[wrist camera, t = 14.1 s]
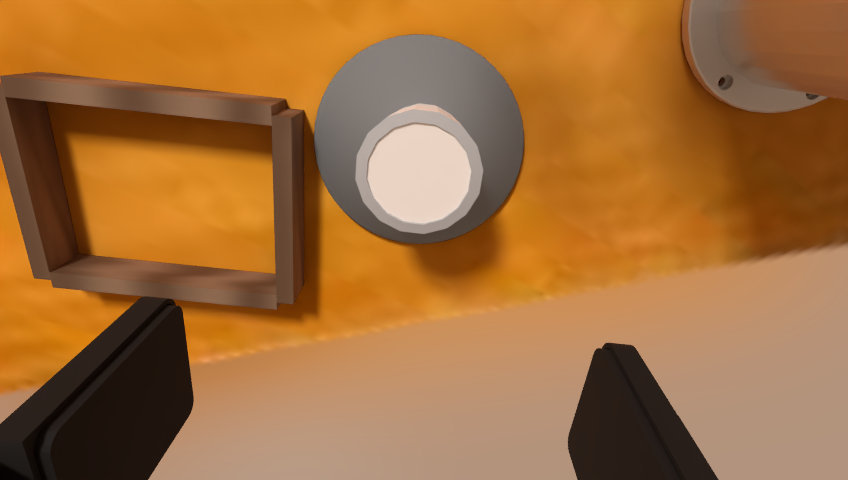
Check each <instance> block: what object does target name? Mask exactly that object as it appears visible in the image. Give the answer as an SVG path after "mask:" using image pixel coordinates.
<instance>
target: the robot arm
mask: <svg viewBox="0 0 848 480" xmlns="http://www.w3.org/2000/svg"><path fill="white" fill-rule="evenodd" d="M682 41H683V45H684V50H685V55H686V59H687V61H688V63H689V65H690V68H691V70H692V72H693V74H694V76H695V77H696V78H697V80H698V81H699V82H700V84H701V85H702V86H703V88H704V89H705V90H707V91H708V92H709V93H710V94H711V95H713V96H714V97H715V98H716V99H718V100H720V101H722V102H724V103H726V104H728V105H730V106H733V107H736V108H740V109H743V110H747V111H752V112H761V113H779V112H789V111H793V110H797V109H801V108H805V107H808V106H811V105H813V104H815V103H818V102H820V101H822V100H825V99H827V98H829V97H832V98H838V99H844V100H848V0H685V1H684V7H683V13H682ZM720 78H721V82H720V84H718V82H719V80H720ZM193 401H194V400H193V390H192V382H191V374H190V366H189V358H188V350H187V342H186V334H185V327H184V319H183V312H182V309H181V307H180V306H176V305H175V302H174V301H173V300H172V299H169V298H160V297H150V296H144V297H142V298H140V299H139V300H138V301H137V302H135V303H134V304H133V305H132V306H131V307H130V308H129V309H128V310H127V311H125V312H124V313H123V314H122V315H121V316H120V317H119V318H118V319H117V320H115V321H114V322H113V323H112V324H111V325H110V326H109V327H108V328H107V329H105V330H104V331H103V332H102V333H101V334H100V335H99V336H98V337H97V338H95V339H94V340H93V341H92V342H91V343H90V344H89V345H88V346H87V347H85V348H84V349H83V350H82V351H81V352H80V353H79V354H78V355H77V356H75V357H74V358H73V359H72V360H71V361H70V362H69V363H68V364H67V365H65V366H64V367H63V368H62V369H61V370H60V371H59V372H58V373H57V374H55V375H54V376H53V377H52V378H51V379H50V380H49V381H48V382H46V383H45V384H44V385H43V386H42V387H41V388H40V389H39V390H38V391H36V392H35V393H34V394H33V395H32V396H31V397H30V398H29V399H28V400H26V402H24V403H23V404H22V405H21V406H20V407H19V408H18V409H17V410H15V411H14V412H13V413H12V414H11V415H10V416H9V417H8V418H6V419H5V420H4V421H3V422H2V423H1V424H0V480H148V479H149V477H150V476H151V474H152V473H153V471H154V469H155V468H156V466H157V465H158V463H159V462H160V460H161V459H162V457H163V456H164V454H165V452H166V451H167V449H168V448H169V446H170V445H171V443H172V442H173V440H174V438H175V437H176V435H177V434H178V432H179V431H180V429H181V428H182V426H183V425H184V423H185V421H186V420H187V418H188V417H189V415H190V413H191V410H192V407H193ZM568 449H569V453H570V457H571V460H572V463H573V466H574V469H575V473H576V476H577V479H578V480H718V478H717V477H716V475H715V474H714V472H713V470H712V469H711V467H710V466H709V464H708V463H707V461H706V459H705V458H704V456H703V454H702V453H701V451H700V449H699V448H698V446H697V445H696V443H695V441H694V440H693V438H692V437H691V435H690V434H689V432H688V430H687V429H686V427H685V426H684V424H683V422H682V421H681V419H680V418H679V416H678V415H677V414H676V412H675V410H674V409H673V407H672V406H671V404H670V402H669V401H668V399H667V398H666V396H665V394H664V393H663V391H662V390H661V388H660V387H659V385H658V383H657V382H656V380H655V379H654V377H653V375H652V374H651V372H650V371H649V369H648V367H647V366H646V364H645V363H644V361H643V359H642V358H641V356H640V355H639V353H638V351H637V350H636V348H635V347H634V346H632V345H625V344H615V343H606V344H604V346H603V347H602V349H600V348H598V349H596V350H595V352H594V355H593V358H592V361H591V365H590V368H589V371H588V374H587V378H586V381H585V384H584V387H583V390H582V394H581V397H580V400H579V403H578V407H577V410H576V413H575V417H574V420H573V423H572V427H571V429H570V433H569V437H568Z"/></svg>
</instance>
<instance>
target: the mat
mask: <svg viewBox="0 0 848 480" xmlns="http://www.w3.org/2000/svg"><path fill="white" fill-rule="evenodd" d="M419 103H420V104H428V105H436V106H438V107H440V108H441V109H443V110H445V111H446V112H448V113H450V114H451V115H452V116H453V117H454V118H455V119H456V120H457V121H458V122H459V123H460V124H461V125H462V126H463V127H464V129H465V130H466V131H467V133H468V134H469V135H470V137H471V138H472V139H473V141H474V142H475V143H476V145H477V146H478V150H479V154H480V158H481V163H482V167H483V175H482V181H481V187H480V193H479V196H478V197H477V199H476V200H475V202H474V203H473V205H472V206H471V208H470V210H469V211H468V213H467V214H466V215H465V216H464V217H462V218H461V219H459V220H458V221H457V222H455V223H454V224H452V225H451V226H450V227H448V228H446V229H442V230H438V231H434V232H430V233H426V234H419V233H411V232H402V231H399V230H397V229H395V228H393V227H391V226H389V225H387V224H385V223H383V222H382V221H380V220H379V219H378V218H377V217H376V216H375V215H374V214H373V213H372V212H371V210H370V209H369V208H368V207H367V206H366V205H365V204H364V202H363V200H362V197H361V194H360V191H359V189H358V186H357V183H356V180H355V176H356V159H357V154H358V152H359V150H360V148H361V146H362V144H363V142H364V140H365V138H366V136H367V134H368V132H370V131H371V130H372V129H373V128H374V127H376V126H377V125H378V124H379V123H380V122H382V121H383V120H384V119H385V118H386V117H388V116H389V115H391V114H393V113H395V112H397V111H398V110H400V109H402V108H405V107H408V106H412V105H415V104H419ZM314 145H315V154H316V160H317V165H318V168H319V171H320V174H321V177H322V179H323V181H324V183H325V185H326V187H327V189H328V191H329V193H330V194H331V196H332V197H333V199H334V200H335V202H336V203H337V204H338V205H339V206H340V208H341V209H342V210H343V211H344V212H345V213H346V214H347V215H348V216H349V217H350V218H351V219H353V220H354V221H355V222H357V223H358V224H359V225H361V226H362V227H364V228H366V229H367V230H369V231H371V232H373V233H375V234H377V235H379V236H382V237H384V238H387V239H391V240H394V241H399V242H405V243H415V244H426V243H436V242H441V241H446V240H449V239H452V238H455V237H458V236H461V235H463V234H465V233H467V232H469V231H471V230H473V229H474V228H476V227H477V226H479V225H481V224H482V223H483V222H484V221H485V220H487V219H488V218H489V217H490V216H491V215H492V214H493V213H494V212H495V211H496V210H497V209H498V208H499V207H500V206H501V204H502V203H503V202H504V200H505V199H506V198H507V196H508V194H509V193H510V191H511V189H512V187H513V185H514V183H515V181H516V178H517V176H518V173H519V170H520V166H521V162H522V156H523V148H524V132H523V124H522V118H521V114H520V111H519V107H518V104H517V102H516V100H515V97H514V95H513V93H512V91H511V89H510V88H509V86H508V84H507V83H506V81H505V79H504V78H503V77H502V76H501V74H500V73H499V72H498V71H497V70H496V68H495V67H494V66H493V65H491V64H490V63H489V62H488V61H487V60H486V59H485V58H484V57H482V56H481V55H479V54H478V53H477V52H475V51H474V50H472V49H470V48H468V47H466V46H464V45H462V44H460V43H458V42H455V41H452V40H450V39H447V38H443V37H438V36H432V35H416V34H415V35H405V36H398V37H394V38H390V39H386V40H383V41H381V42H378V43H376V44H374V45H371V46H370V47H368V48H366V49H364V50H363V51H361V52H359V53H358V54H357V55H355V56H354V57H353V58H352V59H350V60H349V61H348V62H347V63H346V64H345V65H344V66H343V67H342V68H341V69H340V70H339V71H338V72H337V74H336V75H335V77H334V78H333V80H332V81H331V82H330V84H329V86H328V87H327V89H326V91H325V93H324V95H323V97H322V100H321V103H320V106H319V108H318V112H317V117H316V122H315V132H314Z"/></svg>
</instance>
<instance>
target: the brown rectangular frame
mask: <svg viewBox="0 0 848 480" xmlns="http://www.w3.org/2000/svg"><path fill="white" fill-rule="evenodd" d="M0 78H1V82H0V153H1V157H2V160H3V164H4V168H5V172H6V175H7V179H8V183H9V187H10V190H11V194H12V198H13V202H14V205H15V209H16V213H17V217H18V220H19V224H20V228H21V231H22V235H23V239H24V243H25V246H26V250H27V254H28V258H29V261H30V265H31V269H32V273H33V276H34V278H36V279H46V280H51V282H52V286H53V287H55V288H65V289H75V290H85V291H95V292H105V293H115V294H125V295H134V296H150V297H160V298H169V299H174V300H184V301H194V302H204V303H214V304H224V305H234V306H244V307H254V308H264V309H274V310H277V309H278V307H279V305H280V303H285V304H294V302H295V300H296V298H297V297H298V295H299V293H300V291H301V289H302V287H303V285H304V110H296V109H287V108H286V99H281V98H272V97H263V96H254V95H245V94H235V93H226V92H217V91H208V90H199V89H190V88H181V87H172V86H163V85H153V84H144V83H135V82H126V81H117V80H108V79H99V78H90V77H81V76H71V75H62V74H53V73H44V72H34V73H24V74H14V75H4V76H0ZM46 101H48V102H57V103H66V104H75V105H85V106H94V107H103V108H112V109H121V110H131V111H140V112H149V113H158V114H168V115H177V116H186V117H195V118H204V119H214V120H223V121H232V122H241V123H250V124H260V125H269V126H272V157H273V192H274V227H275V262H276V274H269V273H259V272H249V271H239V270H230V269H220V268H210V267H200V266H190V265H181V264H171V263H161V262H151V261H141V260H132V259H122V258H112V257H102V256H92V255H82V254H79V253H78V248H77V243H76V239H75V234H74V230H73V225H72V221H71V216H70V211H69V207H68V202H67V198H66V193H65V188H64V184H63V179H62V175H61V170H60V165H59V161H58V156H57V152H56V147H55V142H54V138H53V133H52V129H51V124H50V120H49V115H48V110H47V106H46Z"/></svg>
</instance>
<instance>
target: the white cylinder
mask: <svg viewBox="0 0 848 480" xmlns="http://www.w3.org/2000/svg"><path fill="white" fill-rule="evenodd" d="M482 175H483V167H482V163H481V158H480V154H479V150H478V146H477V145H476V143H475V142H474V141H473V139H472V138H471V137H470V135H469V134H468V133H467V131H466V130H465V129H464V127H463V126H462V125H461V124H460V123H459V122H458V121H457V120H456V119H455V118H454V117H453V116H452V115H451V114H450V113H448V112H446V111H445V110H443V109H441V108H440V107H438V106H436V105H428V104H420V103H419V104H415V105H412V106H408V107H405V108H402V109H400V110H398V111H397V112H395V113H393V114H391V115H389V116H388V117H386V118H385V119H384V120H383V121H382V122H380V123H379V124H378V125H377V126H376V127H374V128H373V129H372V130H371V131H370V132H368V134H367V136H366V138H365V140H364V142H363V144H362V146H361V148H360V150H359V152H358V154H357V159H356V176H355V180H356V183H357V186H358V189H359V191H360V194H361V197H362V200H363V202H364V204H365V205H366V206H367V207H368V208H369V209H370V210H371V212H372V213H373V214H374V215H375V216H376V217H377V218H378V219H379V220H380V221H382V222H383V223H385V224H387V225H389V226H391V227H393V228H395V229H397V230H399V231H402V232H411V233H419V234H426V233H430V232H434V231H438V230H442V229H446V228H448V227H450V226H451V225H452V224H454V223H455V222H457V221H458V220H459V219H461V218H462V217H464V216H465V215H466V214H467V213H468V211H469V210H470V208H471V206H472V205H473V203H474V202H475V200H476V199H477V197H478V196H479V193H480V187H481V181H482Z"/></svg>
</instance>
